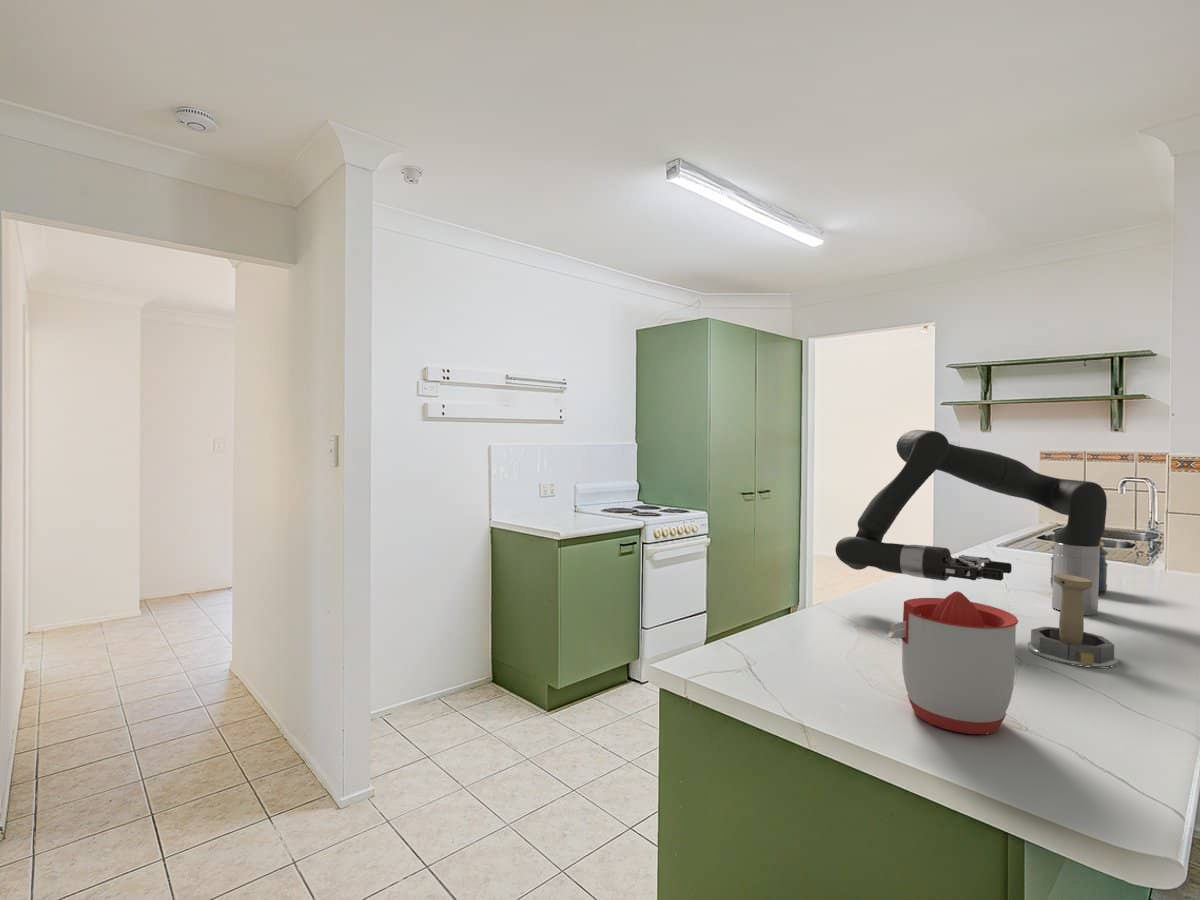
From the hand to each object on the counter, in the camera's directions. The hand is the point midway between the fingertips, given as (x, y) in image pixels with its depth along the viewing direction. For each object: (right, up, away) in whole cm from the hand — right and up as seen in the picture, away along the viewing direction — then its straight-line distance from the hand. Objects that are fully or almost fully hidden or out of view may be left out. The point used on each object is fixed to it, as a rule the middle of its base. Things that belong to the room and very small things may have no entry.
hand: (1007, 571), depth 132 cm
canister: (+51, -15, +45) cm, 69 cm away
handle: (+8, -15, -8) cm, 18 cm away
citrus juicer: (-34, -16, -36) cm, 52 cm away
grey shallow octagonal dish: (+8, -15, -8) cm, 19 cm away
